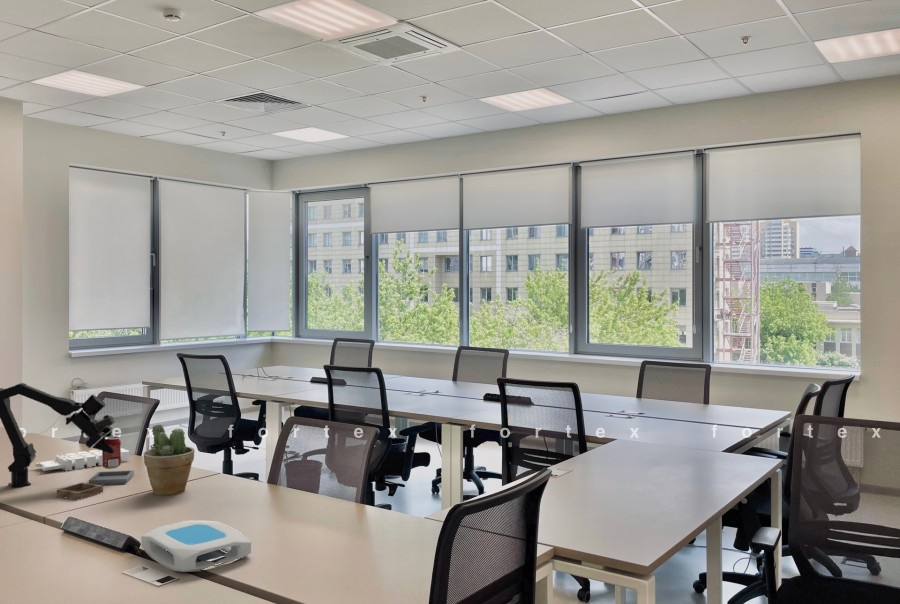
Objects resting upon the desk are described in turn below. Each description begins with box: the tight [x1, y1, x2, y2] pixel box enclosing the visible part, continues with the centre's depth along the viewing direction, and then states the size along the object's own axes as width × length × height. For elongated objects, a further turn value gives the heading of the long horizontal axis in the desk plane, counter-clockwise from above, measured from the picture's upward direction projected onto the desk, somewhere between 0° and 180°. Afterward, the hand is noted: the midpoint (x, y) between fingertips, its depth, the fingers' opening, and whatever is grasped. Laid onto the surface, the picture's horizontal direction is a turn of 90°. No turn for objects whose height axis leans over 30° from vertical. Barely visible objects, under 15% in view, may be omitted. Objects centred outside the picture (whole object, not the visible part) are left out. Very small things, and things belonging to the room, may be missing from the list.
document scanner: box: [140, 519, 252, 573], centre depth 214 cm, size 21×28×6 cm
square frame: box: [56, 482, 104, 500], centre depth 275 cm, size 11×11×2 cm
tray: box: [87, 469, 135, 486], centre depth 296 cm, size 14×14×2 cm
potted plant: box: [143, 424, 195, 496], centre depth 280 cm, size 18×19×25 cm
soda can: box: [102, 435, 122, 470], centre depth 296 cm, size 7×7×12 cm
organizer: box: [35, 447, 131, 472], centre depth 321 cm, size 13×5×35 cm
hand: (115, 450), depth 296 cm, fingers closed on soda can, 7 cm apart
